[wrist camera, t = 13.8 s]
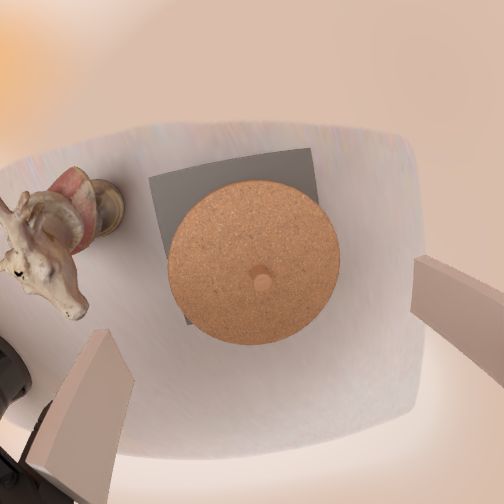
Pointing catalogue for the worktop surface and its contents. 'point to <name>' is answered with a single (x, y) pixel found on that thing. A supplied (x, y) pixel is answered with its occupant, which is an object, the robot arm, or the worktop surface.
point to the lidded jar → (253, 262)
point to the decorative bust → (58, 236)
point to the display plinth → (221, 174)
